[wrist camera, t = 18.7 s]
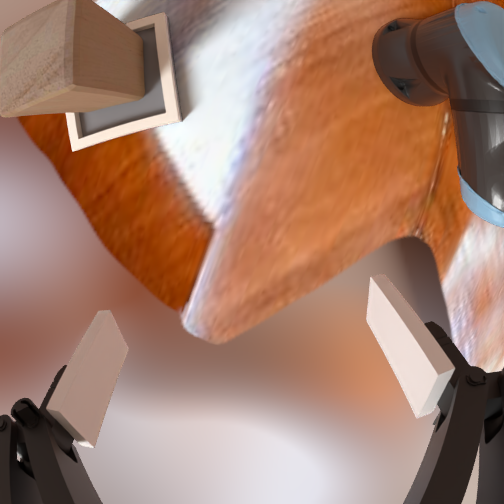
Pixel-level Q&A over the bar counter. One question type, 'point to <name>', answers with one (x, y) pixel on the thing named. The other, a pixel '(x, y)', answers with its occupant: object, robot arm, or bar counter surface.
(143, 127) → the locating plate
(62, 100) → the wooden block
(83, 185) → the bar counter surface
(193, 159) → the bar counter surface
